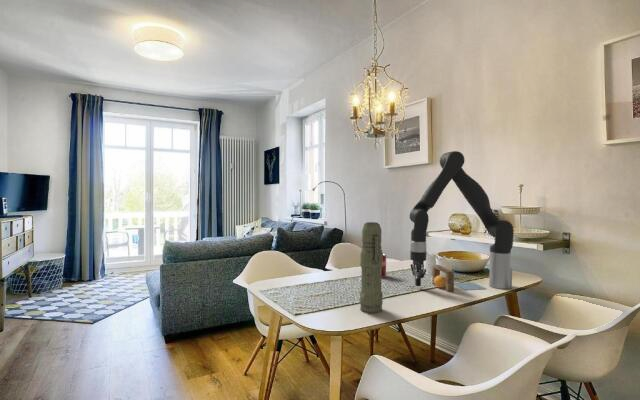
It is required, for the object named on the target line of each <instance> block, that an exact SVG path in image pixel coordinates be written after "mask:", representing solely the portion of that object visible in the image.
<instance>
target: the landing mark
mask: <svg viewBox="0 0 640 400" xmlns="http://www.w3.org/2000/svg"><path fill="white" fill-rule="evenodd" d="M454 287H457V288H459V289H461V290H463V291H472V290H473V291H476V290H477V291H478V290H487V289H488V288H487V287H484V286H482V285H480V284H478V283H475V282H472V281H471V282H454Z"/></svg>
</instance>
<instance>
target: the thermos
mask: <svg viewBox="0 0 640 400" xmlns="http://www.w3.org/2000/svg"><path fill="white" fill-rule="evenodd" d="M361 242H362V245H361V250H360V261H359V262H360V263H359V264H360V265H359V266H360V268H361V281H360V283H361V287H360V288H361V290H360V292H359V304H360V311H361V313H365V314H373V315H374V314H380V313H381V312H383V302H384V300H383V291H382V278H381V269H382V267H383V254H384V252H383V250H382V228H381V225H380V223H379V222H375V221H374V222H373V221H369V222H368V221H367V222H365V223H363V226H362V230H361Z"/></svg>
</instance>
